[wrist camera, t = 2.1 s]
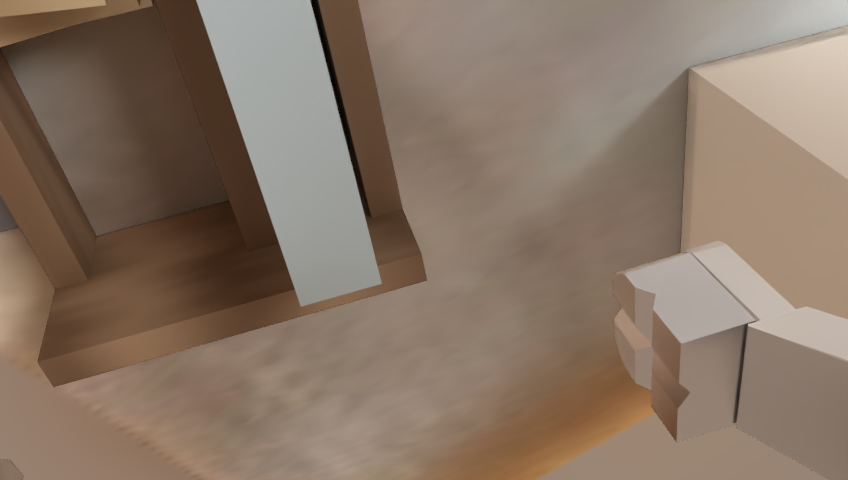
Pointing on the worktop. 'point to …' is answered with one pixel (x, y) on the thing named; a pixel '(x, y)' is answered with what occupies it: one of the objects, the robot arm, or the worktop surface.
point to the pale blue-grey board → (294, 141)
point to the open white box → (774, 165)
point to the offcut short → (44, 6)
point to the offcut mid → (55, 20)
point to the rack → (193, 220)
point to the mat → (6, 217)
